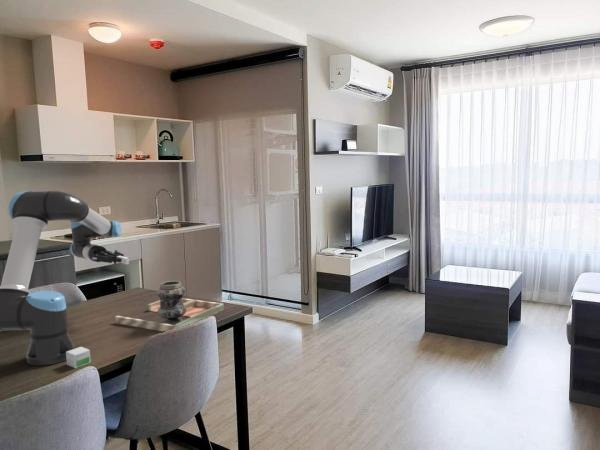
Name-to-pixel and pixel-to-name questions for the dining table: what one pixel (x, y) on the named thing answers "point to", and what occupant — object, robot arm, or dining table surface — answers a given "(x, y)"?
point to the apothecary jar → (171, 302)
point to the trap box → (194, 311)
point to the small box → (78, 357)
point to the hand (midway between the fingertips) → (127, 261)
